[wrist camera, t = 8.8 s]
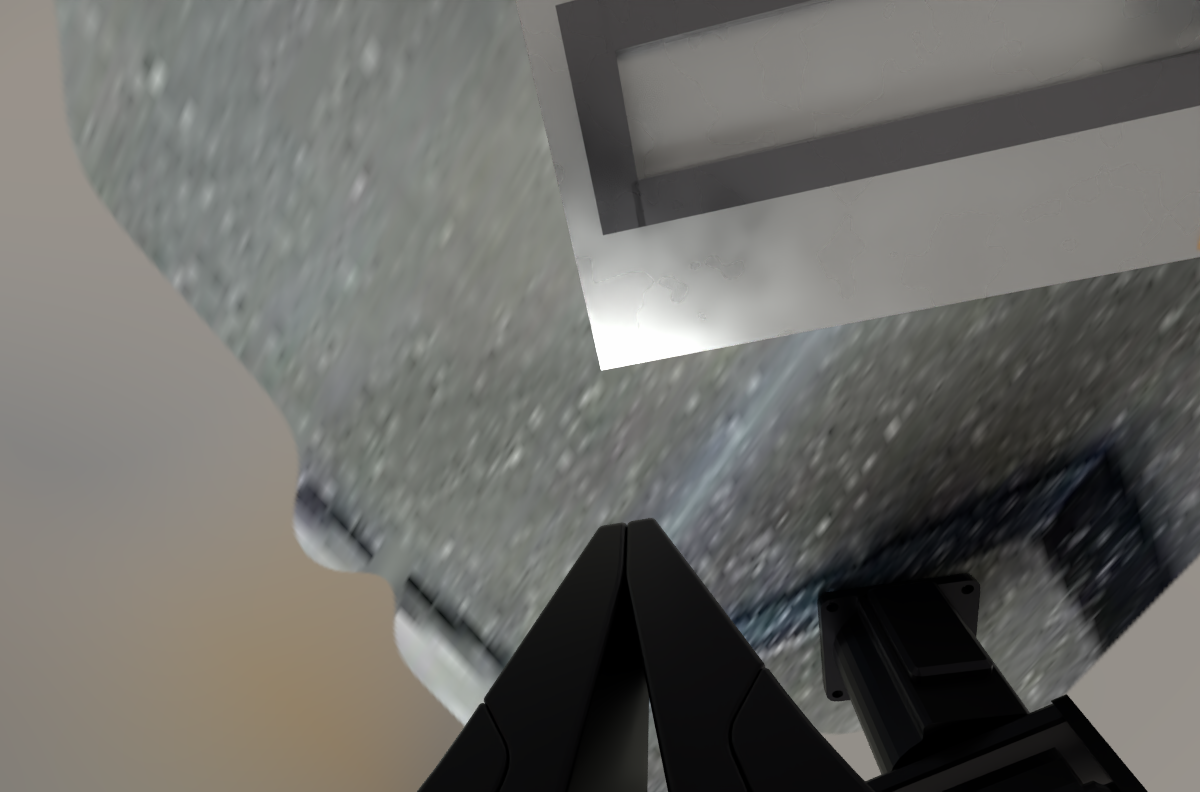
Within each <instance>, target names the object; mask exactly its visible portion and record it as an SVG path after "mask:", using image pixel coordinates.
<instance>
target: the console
mask: <svg viewBox="0 0 1200 792" xmlns="http://www.w3.org/2000/svg"><path fill="white" fill-rule="evenodd" d="M516 4H517V8H518V12H519V17H520V21H521V25H522V30H523V34H524V38H525V43H526V47H527V51H528V56H529V60H530V64H531V69H532V73H533V77H534V82H535V86H536V90H537V95H538V99H539V103H540V108H541V112H542V116H543V121H544V125H545V129H546V133H547V138H548V142H549V146H550V151H551V155H552V159H553V164H554V168H555V172H556V177H557V181H558V185H559V190H560V194H561V198H562V203H563V207H564V211H565V216H566V220H567V224H568V229H569V233H570V237H571V242H572V246H573V250H574V255H575V259H576V263H577V267H578V272H579V276H580V280H581V285H582V289H583V293H584V298H585V302H586V306H587V311H588V315H589V319H590V324H591V328H592V332H593V337H594V341H595V345H596V350H597V354H598V358H599V363H600V367H601V370H606V369H611V368H616V367H622V366H627V365H632V364H637V363H643V362H648V361H653V360H659V359H664V358H669V357H674V356H680V355H685V354H690V353H695V352H701V351H706V350H711V349H717V348H722V347H727V346H732V345H738V344H743V343H748V342H754V341H759V340H764V339H769V338H775V337H780V336H785V335H791V334H796V333H801V332H806V331H812V330H817V329H822V328H827V327H833V326H838V325H843V324H849V323H854V322H859V321H864V320H870V319H875V318H880V317H886V316H891V315H896V314H901V313H907V312H912V311H917V310H922V309H928V308H933V307H938V306H944V305H949V304H954V303H959V302H965V301H970V300H975V299H981V298H986V297H991V296H996V295H1002V294H1007V293H1012V292H1017V291H1023V290H1028V289H1033V288H1039V287H1044V286H1049V285H1054V284H1060V283H1065V282H1070V281H1076V280H1081V279H1086V278H1091V277H1097V276H1102V275H1107V274H1113V273H1118V272H1123V271H1128V270H1134V269H1139V268H1144V267H1149V266H1155V265H1160V264H1165V263H1171V262H1176V261H1181V260H1186V259H1192V258H1197V257H1200V0H516Z"/></svg>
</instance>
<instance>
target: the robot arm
mask: <svg viewBox="0 0 1200 792" xmlns="http://www.w3.org/2000/svg"><path fill="white" fill-rule="evenodd" d="M979 597H980V584H979V583H978V582H977V581H976V579H975V578H974V577H973V576H972V575H970V574H957V575H950V576H942V577H935V578H928V579H920V580H913V581H906V582H898V583H891V584H884V585H876V586H869V587H862V588H854V589H847V590H840V591H833V592H827V593H824V594H822V595H821V596H820V597H819V599H818V614H819V628H820V642H821V656H822V669H823V683H824V690H825V692H826V695H827V698H828V699H829V700H831V701H845V700H851V702H852V704H853V707H854V709H855V712H856V714H857V717H858V719H859V721H860V724H861V726H862V729H863V731H864V733H865V736H866V738H867V741H868V742H869V746H870V748H871V750H872V753H873V755H874V758H875V760H876V762H877V765H878V767H879V769H880V772H881V775H880V776H878V777H875V778H873V779H870V780H868V781H864V780H863V779H862V778H861V777H860V776H859V775H858V774H857V773H856V772H855V771H854V770H853V769H852V768H851V766H850V765H849V764H848V763H847V762H846V761H845V760H844V759H843V758H842V757H841V756H840V755H839V753H837V752H836V750H835V749H834V748H833V747H832V746H831V745H830V744H829V743H828V741H827V740H826V739H825V738H824V737H823V736H822V735H821V734H820V733H819V732H818V730H817V729H816V728H815V727H814V726H813V725H812V723H811V722H810V721H809V720H808V719H807V717H806V716H805V715H804V714H803V712H802V711H801V710H800V709H799V707H798V706H797V705H796V704H795V703H794V701H793V700H792V699H791V698H790V696H789V695H788V694H787V693H786V691H785V690H784V689H783V687H782V686H781V685H780V683H779V682H778V681H777V679H776V678H775V677H774V676H773V674H772V673H771V672H770V670H769V669H767V668H765V665H764V663H763V662H762V660H761V659H760V658H759V656H758V655H757V654H756V652H755V651H754V650H753V648H752V647H751V646H750V644H749V643H748V642H747V640H746V639H745V638H744V636H743V635H742V634H741V632H740V631H739V630H738V628H737V627H736V626H735V624H734V623H733V622H732V621H731V619H730V618H729V617H728V615H727V614H726V613H725V611H724V610H723V609H722V607H721V606H720V605H719V603H718V602H717V601H716V599H715V598H714V597H713V595H712V594H711V593H710V591H709V590H708V589H707V587H706V586H705V585H704V584H703V582H702V581H701V580H700V578H699V577H698V576H697V574H696V573H695V572H694V570H693V569H692V568H691V566H690V565H689V564H688V562H687V561H686V560H685V558H684V557H683V556H682V554H681V553H680V552H679V550H678V549H677V548H676V546H675V545H674V544H673V543H672V541H671V540H670V539H669V537H668V536H667V535H666V533H665V532H664V531H663V529H662V528H661V527H660V525H659V524H658V523H657V521H656V520H655V519H653V518H648V519H642V520H635V521H631V522H629V523H628V525H626V524H625V523H616V524H610V525H604V526H601V527H600V528H599V529H598V530H597V531H596V533H595V534H594V536H593V537H592V539H591V540H590V542H589V543H588V545H587V546H586V548H585V549H584V551H583V552H582V554H581V555H580V557H579V558H578V560H577V561H576V562H575V564H574V565H573V567H572V568H571V570H570V571H569V573H568V574H567V576H566V577H565V579H564V580H563V582H562V583H561V585H560V586H559V588H558V589H557V591H556V592H555V594H554V595H553V597H552V598H551V600H550V601H549V603H548V604H547V606H546V607H545V609H544V610H543V611H542V613H541V614H540V616H539V617H538V619H537V620H536V622H535V623H534V625H533V626H532V628H531V629H530V631H529V632H528V634H527V635H526V637H525V638H524V640H523V641H522V643H521V644H520V646H519V647H518V649H517V650H516V652H515V653H514V655H513V656H512V658H511V659H510V660H509V662H508V663H507V665H506V666H505V668H504V669H503V671H502V672H501V674H500V675H499V677H498V678H497V680H496V681H495V683H494V684H493V686H492V687H491V689H490V690H489V692H488V693H487V695H486V696H485V698H484V703H485V704H484V703H481V704H480V705H479V706H478V708H477V709H476V711H475V712H474V714H473V715H472V716H471V718H470V719H469V721H468V722H467V724H466V725H465V727H464V728H463V730H462V731H461V733H460V734H459V735H458V737H457V738H456V740H455V741H454V742H453V744H452V745H451V747H450V748H449V749H448V751H447V752H446V754H445V755H444V757H443V758H442V759H441V761H440V762H439V764H438V765H437V766H436V768H435V769H434V770H433V772H432V773H431V774H430V776H429V777H428V778H427V780H426V781H425V782H424V783H423V784H422V786H421V787H420V788H419V790H418V791H417V792H647V782H648V722H649V698H650V703H651V708H652V713H653V718H654V723H655V728H656V733H657V738H658V743H659V748H660V753H661V758H662V763H663V768H664V773H665V778H666V783H667V788H668V792H1147V790H1146V789H1145V788H1144V787H1143V785H1142V784H1141V783H1140V782H1139V781H1138V779H1137V778H1136V777H1135V776H1134V775H1133V773H1132V772H1131V771H1130V770H1129V769H1128V767H1127V766H1126V765H1125V764H1124V763H1123V761H1122V760H1121V759H1120V758H1119V757H1118V755H1117V754H1116V753H1115V752H1114V751H1113V749H1112V748H1111V747H1110V746H1109V744H1108V743H1107V742H1106V741H1105V740H1104V738H1103V737H1102V736H1101V735H1100V734H1099V733H1098V731H1097V730H1096V729H1095V728H1094V727H1093V725H1092V724H1091V723H1090V722H1089V720H1088V719H1087V718H1086V717H1085V716H1084V715H1083V713H1082V712H1081V711H1080V710H1079V708H1078V707H1077V706H1076V705H1075V704H1074V702H1073V701H1072V700H1071V699H1070V698H1069V697H1068V695H1067V694H1066V695H1064V696H1061V697H1059V698H1056V699H1054V700H1052V701H1051V702H1052V703H1053V704H1051V705H1048V706H1046V707H1044V708H1041V709H1039V710H1036V711H1034V712H1031V713H1030V712H1029V711H1028V709H1027V708H1026V707H1025V705H1024V704H1023V702H1022V701H1021V700H1020V698H1019V697H1018V695H1017V694H1016V693H1015V691H1014V690H1013V688H1012V687H1011V686H1010V684H1009V683H1008V682H1007V680H1006V679H1005V677H1004V676H1003V675H1002V673H1001V672H1000V670H999V669H998V668H997V666H996V665H995V663H994V662H993V661H992V659H991V658H990V656H989V655H988V654H987V652H986V651H985V649H984V648H983V647H982V645H981V644H980V642H979V641H978V640H977V638H976V632H977V621H978V609H979ZM831 603H833V604H831ZM829 604H831V605H829Z"/></svg>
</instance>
